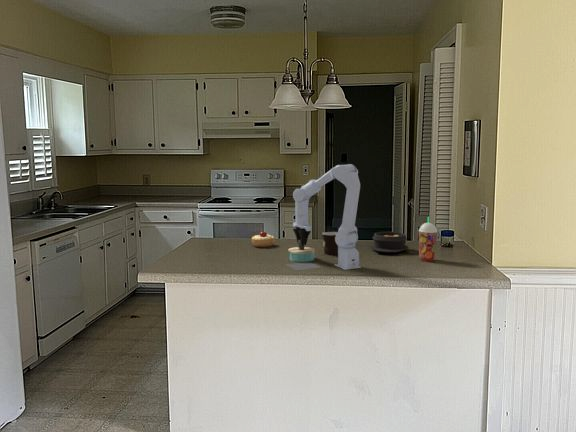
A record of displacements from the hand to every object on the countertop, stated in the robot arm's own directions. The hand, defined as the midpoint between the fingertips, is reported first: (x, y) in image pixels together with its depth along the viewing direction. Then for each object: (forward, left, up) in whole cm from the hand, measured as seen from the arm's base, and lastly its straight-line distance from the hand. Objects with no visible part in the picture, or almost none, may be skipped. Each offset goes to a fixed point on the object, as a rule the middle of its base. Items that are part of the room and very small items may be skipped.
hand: (301, 244), depth 251 cm
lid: (0, 0, -3) cm, 3 cm away
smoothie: (-27, -50, -7) cm, 57 cm away
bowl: (0, 0, -7) cm, 7 cm away
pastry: (+39, +3, -8) cm, 40 cm away
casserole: (-1, -48, -8) cm, 49 cm away
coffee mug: (+6, -19, -7) cm, 21 cm away
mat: (-13, +6, -7) cm, 16 cm away
